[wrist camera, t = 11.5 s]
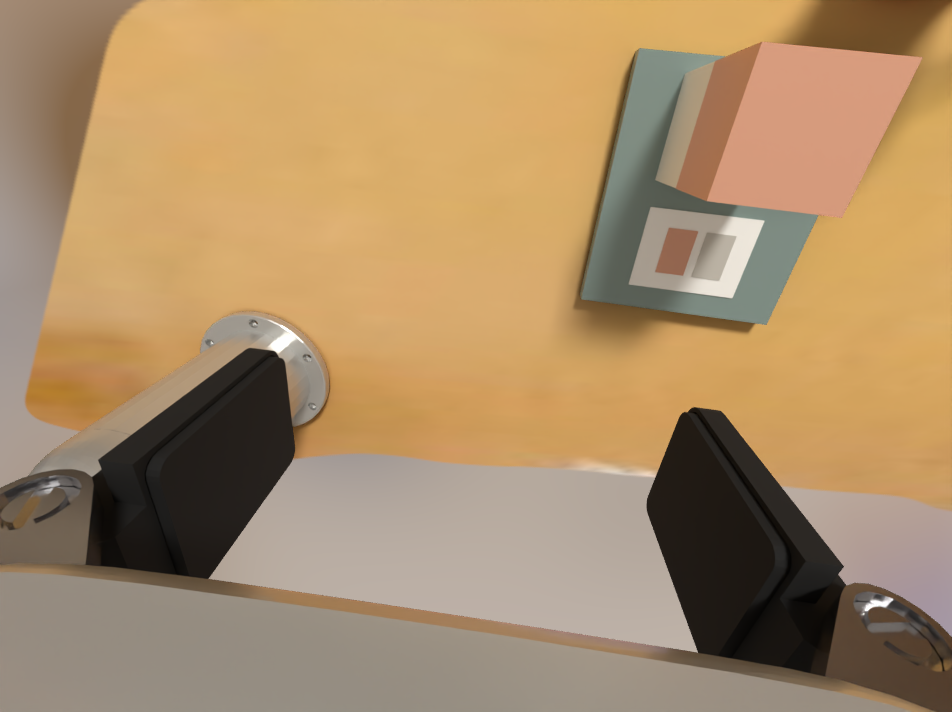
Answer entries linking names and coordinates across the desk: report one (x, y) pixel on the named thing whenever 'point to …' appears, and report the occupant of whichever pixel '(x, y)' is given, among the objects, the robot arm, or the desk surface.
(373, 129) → the desk surface
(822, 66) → the terracotta brick
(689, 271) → the baseplate
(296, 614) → the robot arm
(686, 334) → the desk surface
